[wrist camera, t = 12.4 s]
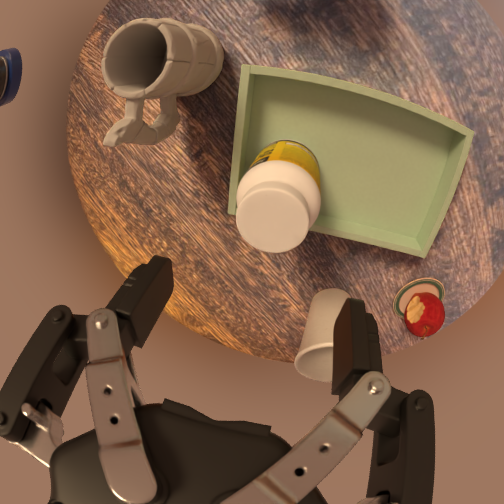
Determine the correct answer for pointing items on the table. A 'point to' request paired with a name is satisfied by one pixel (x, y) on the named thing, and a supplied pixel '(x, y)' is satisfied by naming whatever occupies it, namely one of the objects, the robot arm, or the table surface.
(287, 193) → the pill bottle
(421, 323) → the apple
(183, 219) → the table surface
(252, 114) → the tray
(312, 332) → the dixie cup
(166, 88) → the mug
